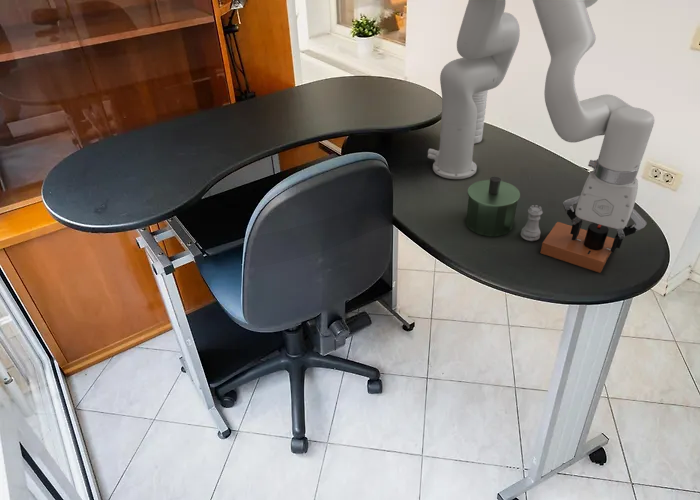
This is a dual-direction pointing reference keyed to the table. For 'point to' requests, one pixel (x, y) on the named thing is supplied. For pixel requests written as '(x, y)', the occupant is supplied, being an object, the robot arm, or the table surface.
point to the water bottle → (480, 113)
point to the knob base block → (575, 248)
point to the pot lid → (493, 193)
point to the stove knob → (596, 236)
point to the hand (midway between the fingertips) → (594, 242)
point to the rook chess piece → (532, 224)
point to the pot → (490, 219)
